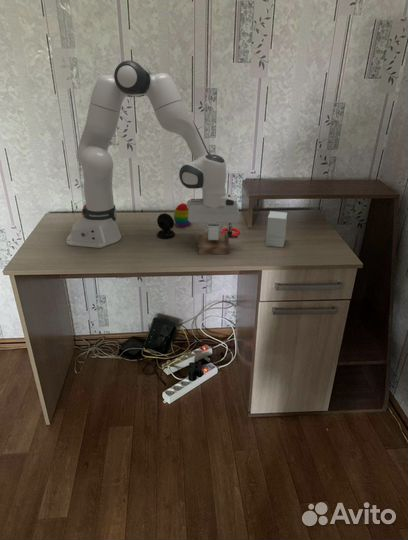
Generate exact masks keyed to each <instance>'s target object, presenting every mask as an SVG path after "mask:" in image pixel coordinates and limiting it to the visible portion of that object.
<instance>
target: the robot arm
mask: <svg viewBox="0 0 408 540" xmlns="http://www.w3.org/2000/svg"><path fill="white" fill-rule="evenodd" d="M114 69H115V70H114V74H113V75H110V74H102V75H99V77H97V80H96V82H95V85H94V86H93V89H92V93H91V96H90V101H89V106H88V110H87V115H86V121H85V125H84V128H83V131H82V133H81V136H80V140H79V142H78V143H79V144H78V147H77V148H76V159H77V161H78V164H80V166H81V168H82V172H83V194H84V200H85V203H84V205H83V207H82V210H81V217H79V218H78V219H77V220H76V221H75V222H74V223H73V225H72V226H71V231H70V234H69V235H67V238H66V244H67V245H68V246H73V247H86V248H97V249H101V248H104V247H106V246H109V245H112V244H114V243H117V242H119V241H120V240H121V239H122V234H121V232H120V229H119V226H118V221H117V218H118V216H117V209H116V205H115V203H114V201H115V200H114V194H113V171H114V170H113V169H114V161H113V158H112V156H111V154H110V153H109V152H108V149H109V146H110V144H111V142H112V140H113V138H114V136H115V134H116V133H117V132H116V131H117V126H118V122H119V118H120V113H121V108H122V105H123V102H124V100H125V98H127V97H128V98H129V97H130V98H132V97H133V98H134V97H136V98H142V97H144V96H145V97H147V99H149V102H150V104H151V106H152V109H153V112H154V113H155V117H156V120H157V122H158V123H159V125H160V126H161V128H162V129H164V130H165V131H168V132H170V133H174V134H176V135H179V136H180V137H181V138H183V139H184V141H185V142H186V145H187V147H188V149H189V152H190V153H191V155H192V158H193V160H192V161H190V162H188V163H185V164H184V165H182V166H181V167H180V169H179V172H178V173H179V174H178V177H179V178H178V179H179V180H180V183H181V185H183V187H184V188H186V189H201V190H202V191H201V193H202V195H201V196H202V198H191V199H188V201H186V205H187V209H188V210H189V211H188V221H189V222H191V223H201V225H202V227H203V228H204V233H208V226H206V224H207V223H208V222H218V223H221V225H220V226H219V233H221V232H222V229H224V227H225V226H226V223H229V222H232V223H238V222H239V221H240V211H239V210H240V209H239V205H238V200H237V197H236V195H234V194H231V193H227V191H226V182H227V167H226V166H227V165H226V162H225V159H224V158H223V157H222V156H221V155H218V154H211V153H210V152H209V150H208V148H207V146H206V144H205V142H204V139H203V138H202V134H201V133H200V131H199V129H198V127H197V125H196V123H195V121H194V120H193V119H192V118H191V116H190V114H189V112H188V110H187V108H186V106H185V104H184V101H183V98H182V95H181V93H180V91H179V88H178V86H177V85H176V83H175V81H174V79H173V78H172V76H171V75H170V74H168V73H166V72H161V73H157V74H152V73H151V71H150V70H149V69H148V68H147V67H145V65H143V64H141V63H139V62H136V61H134V60H125V61H121V62H120V63H119V64H118V65H116V67H115V68H114Z"/></svg>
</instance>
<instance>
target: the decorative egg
mask: <svg viewBox="0 0 408 540" xmlns="http://www.w3.org/2000/svg"><path fill="white" fill-rule="evenodd" d="M188 211H189V210H188V209H187V203H180V204H178V206H176V208H175V210H174V213H173V220H174V222H175V223H174V224H176V226H178V227H183V228H184V227H188V226H190V224H191V223H192V222H189V221H188Z"/></svg>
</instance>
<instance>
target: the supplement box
mask: <svg viewBox="0 0 408 540" xmlns="http://www.w3.org/2000/svg"><path fill="white" fill-rule="evenodd" d="M287 220H288V212H284V211H273V210H269V213H268V216H267V221H266V222H267V223H266V224H267V225H266V237H265V239H266V241H265V246H268V247H276V248H284V246H285V242H286V231H287V222H288V221H287Z"/></svg>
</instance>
